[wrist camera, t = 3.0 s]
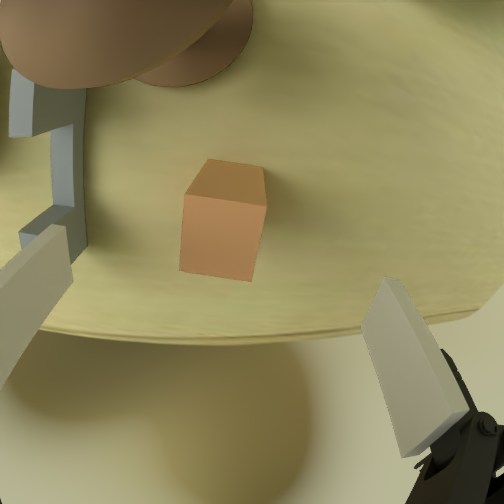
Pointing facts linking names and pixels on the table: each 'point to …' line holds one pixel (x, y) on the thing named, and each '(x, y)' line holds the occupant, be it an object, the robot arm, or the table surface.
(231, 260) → the orange brown tapered block
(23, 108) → the gray board
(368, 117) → the table surface
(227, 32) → the bobbin
